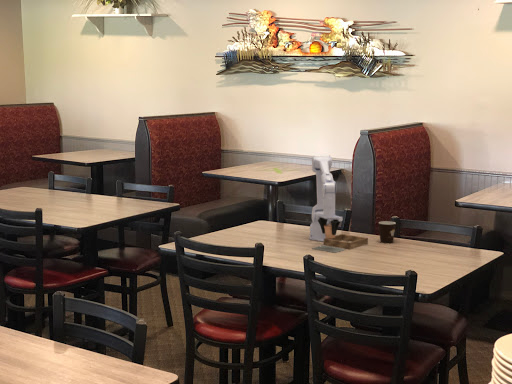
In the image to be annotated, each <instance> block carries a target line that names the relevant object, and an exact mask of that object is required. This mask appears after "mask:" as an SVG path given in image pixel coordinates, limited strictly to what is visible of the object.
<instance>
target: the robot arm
mask: <svg viewBox="0 0 512 384" xmlns="http://www.w3.org/2000/svg"><path fill="white" fill-rule="evenodd" d="M332 166H333V159H332V156H331V155H312V157H311V170H312V172H313V173H315V176H316V178H315V179H316V204H315V205H314V206H313V207H312V208H311V221H312V222H311V223H310V226H309V237H308V240H311V241H312V240H313V241H317V242H324V239H325V238H326V237H325V228H324V225H326V224H331V225H332V235H337V231H338V228H339V226H340V224H341V223H342V221H343V216H339V215H336V194H337V191H338V189H337V188H338V186H337V182H336V181H335V180H334V178H333V177H334V176H333V174H332V173H331V172H330V170H331V168H332Z"/></svg>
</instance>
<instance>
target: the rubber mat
mask: <svg viewBox="0 0 512 384" xmlns="http://www.w3.org/2000/svg"><path fill="white" fill-rule="evenodd" d="M311 249H312V250H317V251H324V252H328V253H334V254H336V253H340V252H342V251H346V250H347V249H346V248H340V247H334V246H329V245H324V244H323V245H318V246H315V247H312V248H311Z"/></svg>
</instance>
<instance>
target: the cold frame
mask: <svg viewBox="0 0 512 384" xmlns="http://www.w3.org/2000/svg"><path fill="white" fill-rule="evenodd" d="M368 244H369V238H368V237H364V236H358V235H357V236H356V235H353V234H352V235H351V234H346V233H340V234H336V237H335V238H325V239H324V241H323V245H325V246H330V247H336V248H342V249H346V250H352V249H354V248H355V249H356V248H359V247H362V246H365V245H368Z"/></svg>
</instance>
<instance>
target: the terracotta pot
mask: <svg viewBox="0 0 512 384" xmlns="http://www.w3.org/2000/svg"><path fill="white" fill-rule="evenodd" d="M324 228H325V237H326V238H335V237H336V235H337V234H336V235H332V225H331V223H329V224H326V225H324Z"/></svg>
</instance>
